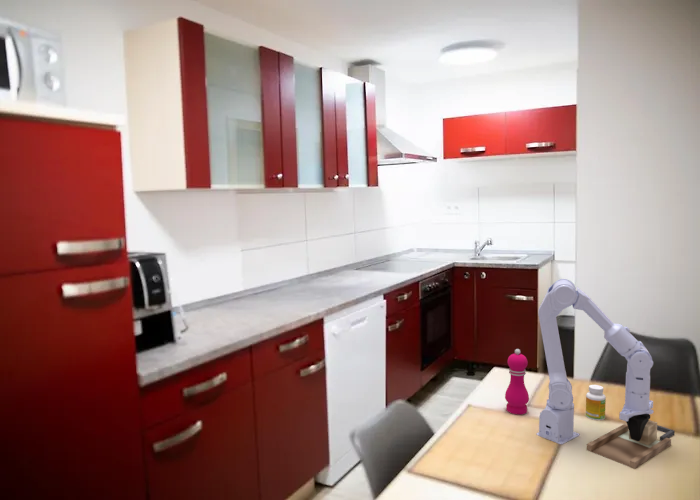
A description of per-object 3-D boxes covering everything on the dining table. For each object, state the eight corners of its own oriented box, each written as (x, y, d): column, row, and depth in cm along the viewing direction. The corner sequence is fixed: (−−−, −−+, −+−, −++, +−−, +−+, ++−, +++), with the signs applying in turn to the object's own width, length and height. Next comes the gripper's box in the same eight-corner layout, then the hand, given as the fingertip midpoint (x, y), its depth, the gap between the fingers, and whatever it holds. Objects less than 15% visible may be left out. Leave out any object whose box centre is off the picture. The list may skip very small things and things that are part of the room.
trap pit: (662, 442, 145) (663, 437, 144) (633, 432, 151) (633, 427, 151) (674, 435, 149) (674, 430, 149) (644, 426, 155) (644, 421, 155)
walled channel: (634, 470, 131) (634, 462, 131) (586, 451, 141) (586, 444, 141) (670, 446, 143) (671, 439, 142) (624, 430, 152) (624, 423, 152)
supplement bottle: (602, 423, 158) (603, 391, 157) (583, 418, 161) (584, 387, 160) (606, 416, 162) (607, 386, 161) (587, 412, 165) (588, 382, 164)
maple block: (647, 445, 143) (648, 427, 142) (629, 438, 147) (629, 421, 146) (656, 440, 145) (657, 422, 145) (637, 433, 149) (638, 416, 149)
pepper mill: (531, 415, 164) (533, 352, 162) (508, 415, 164) (509, 352, 162) (524, 406, 171) (525, 345, 169) (502, 406, 171) (502, 345, 169)
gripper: (639, 401, 135) (637, 452, 136) (665, 388, 143) (663, 436, 145) (612, 393, 140) (610, 442, 142) (638, 381, 149) (637, 428, 150)
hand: (635, 439), depth 143 cm, fingers closed
